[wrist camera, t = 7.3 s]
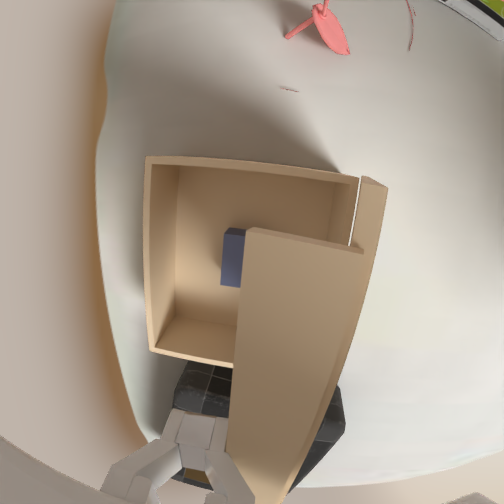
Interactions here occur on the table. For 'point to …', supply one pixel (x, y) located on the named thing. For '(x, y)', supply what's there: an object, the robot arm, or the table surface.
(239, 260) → the dark blue rectangular block
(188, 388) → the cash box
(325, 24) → the figurine
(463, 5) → the tea box
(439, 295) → the table surface
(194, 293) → the mailer box
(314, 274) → the lid
